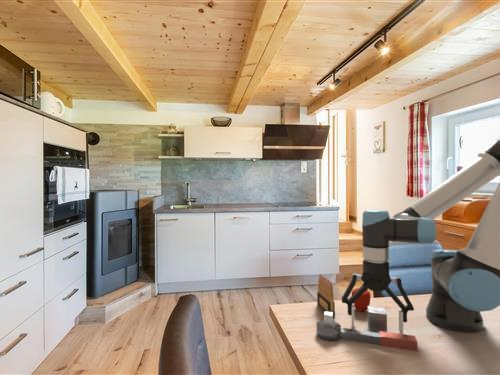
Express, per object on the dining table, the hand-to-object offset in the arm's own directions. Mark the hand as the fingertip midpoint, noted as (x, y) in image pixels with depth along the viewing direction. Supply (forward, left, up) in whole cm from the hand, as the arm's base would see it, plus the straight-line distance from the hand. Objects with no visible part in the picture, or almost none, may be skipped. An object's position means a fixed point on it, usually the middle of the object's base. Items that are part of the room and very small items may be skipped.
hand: (376, 328), depth 88 cm
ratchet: (+4, +8, 0) cm, 9 cm away
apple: (+4, -13, 0) cm, 14 cm away
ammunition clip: (+16, -9, 0) cm, 18 cm away
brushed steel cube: (0, 0, 0) cm, 0 cm away
